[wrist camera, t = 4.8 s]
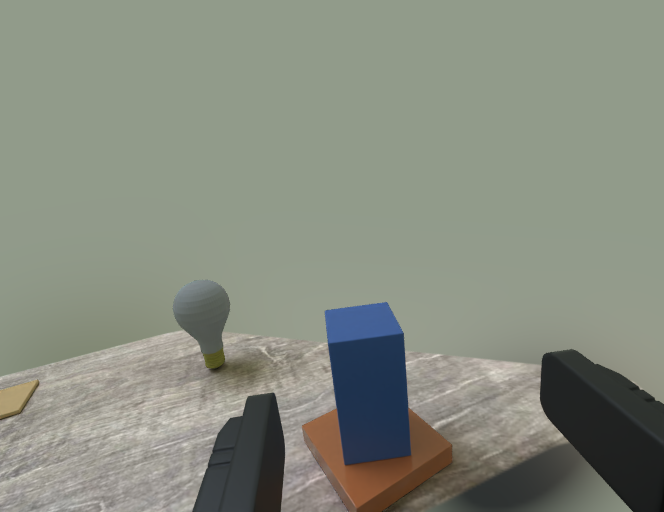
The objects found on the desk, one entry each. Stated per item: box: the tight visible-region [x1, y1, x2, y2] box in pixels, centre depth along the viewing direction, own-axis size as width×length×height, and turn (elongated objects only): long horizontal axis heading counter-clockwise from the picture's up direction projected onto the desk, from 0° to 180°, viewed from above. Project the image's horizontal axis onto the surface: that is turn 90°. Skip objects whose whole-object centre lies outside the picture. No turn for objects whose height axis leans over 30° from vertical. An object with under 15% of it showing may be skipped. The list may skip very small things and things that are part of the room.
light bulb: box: [173, 280, 230, 368], centre depth 36 cm, size 5×6×10 cm
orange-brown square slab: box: [302, 408, 452, 512], centre depth 25 cm, size 8×8×2 cm
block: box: [325, 302, 411, 465], centre depth 23 cm, size 4×4×9 cm
